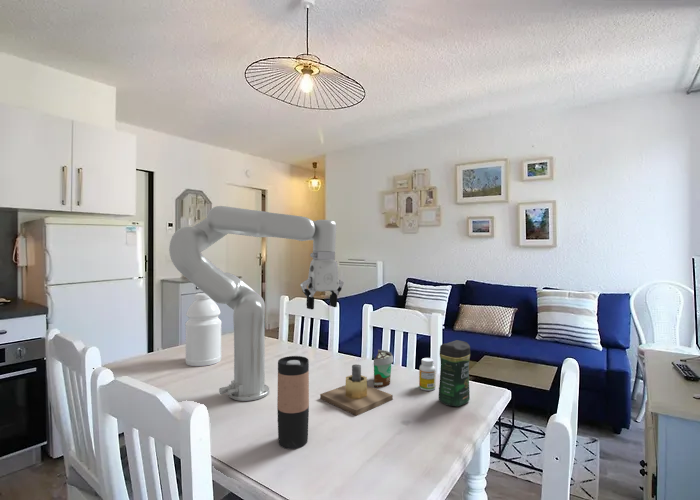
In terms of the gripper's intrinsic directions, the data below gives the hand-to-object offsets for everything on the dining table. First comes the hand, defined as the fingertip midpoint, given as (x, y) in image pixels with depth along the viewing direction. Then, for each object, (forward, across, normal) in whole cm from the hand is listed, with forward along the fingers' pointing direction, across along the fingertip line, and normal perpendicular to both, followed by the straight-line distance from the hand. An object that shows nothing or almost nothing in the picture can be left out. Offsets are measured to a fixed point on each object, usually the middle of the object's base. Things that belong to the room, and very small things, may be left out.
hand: (322, 307), depth 126 cm
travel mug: (+28, -25, -23) cm, 44 cm away
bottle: (+29, -18, +54) cm, 64 cm away
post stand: (+27, +4, -15) cm, 31 cm away
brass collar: (+25, +3, -15) cm, 29 cm away
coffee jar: (+26, +25, -36) cm, 51 cm away
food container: (+27, +20, -11) cm, 35 cm away
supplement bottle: (+26, +28, -24) cm, 45 cm away
